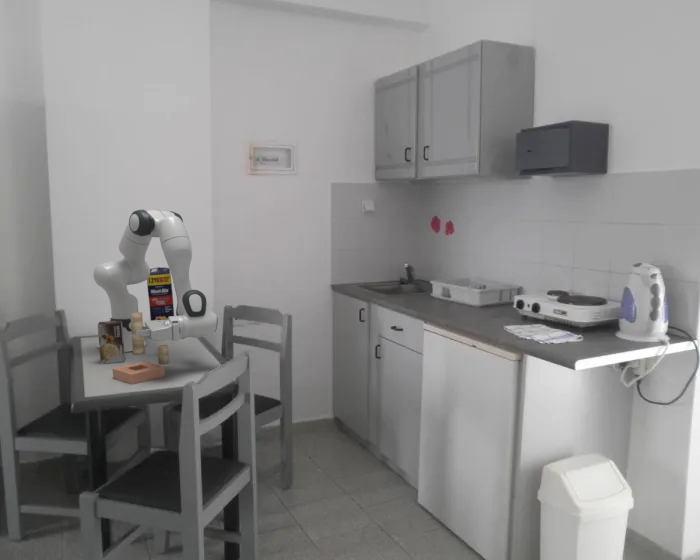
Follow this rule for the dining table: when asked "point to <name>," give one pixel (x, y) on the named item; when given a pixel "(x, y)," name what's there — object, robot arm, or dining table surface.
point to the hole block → (138, 372)
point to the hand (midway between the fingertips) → (134, 331)
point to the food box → (111, 341)
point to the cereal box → (160, 294)
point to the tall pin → (136, 340)
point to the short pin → (163, 354)
